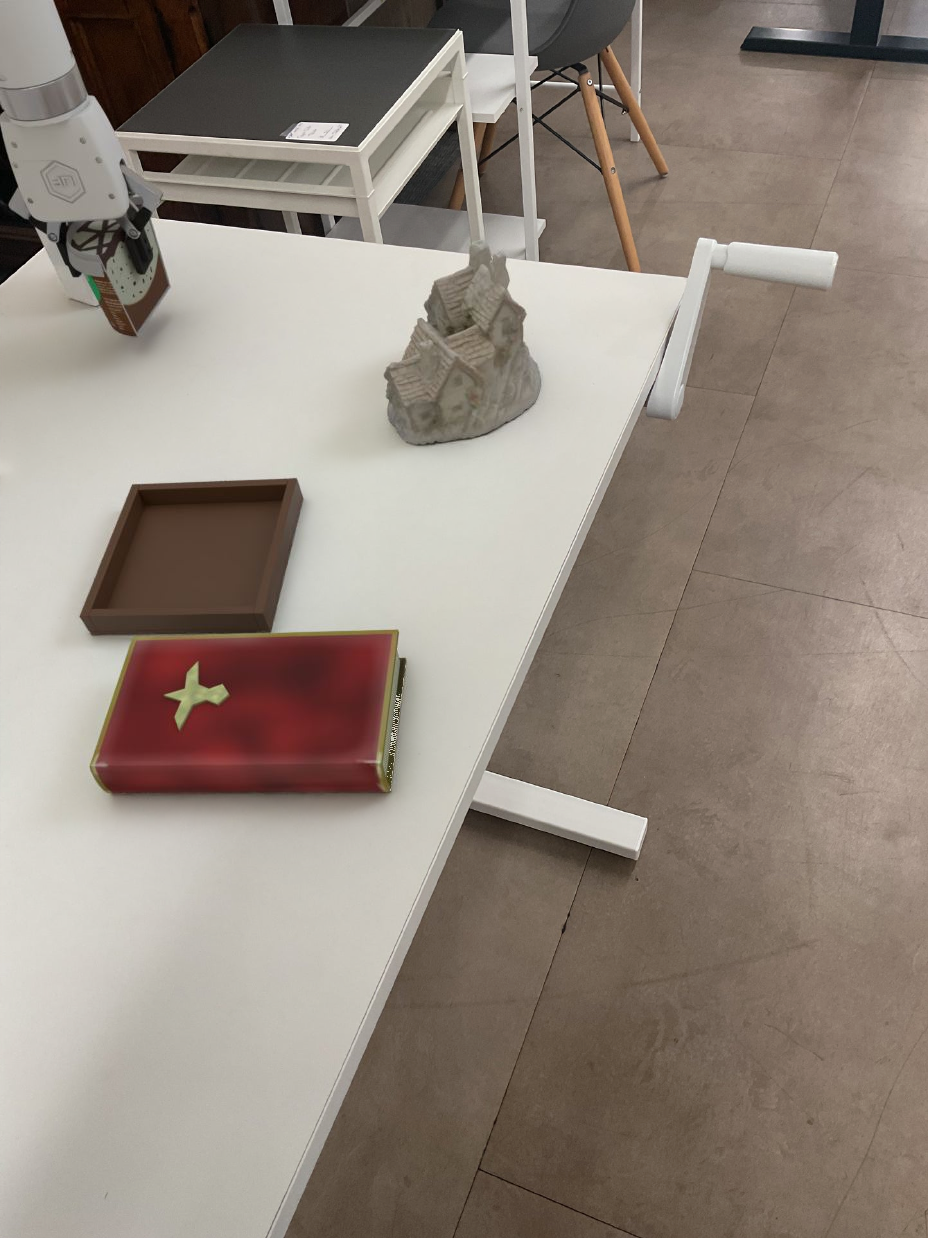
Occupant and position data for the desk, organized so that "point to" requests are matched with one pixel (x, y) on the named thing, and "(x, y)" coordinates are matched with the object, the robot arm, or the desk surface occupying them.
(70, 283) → the jar
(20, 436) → the desk surface
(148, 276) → the food container
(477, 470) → the desk surface
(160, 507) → the tray
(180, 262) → the desk surface
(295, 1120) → the desk surface
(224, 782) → the hardcover book
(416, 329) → the ceramic cottage
